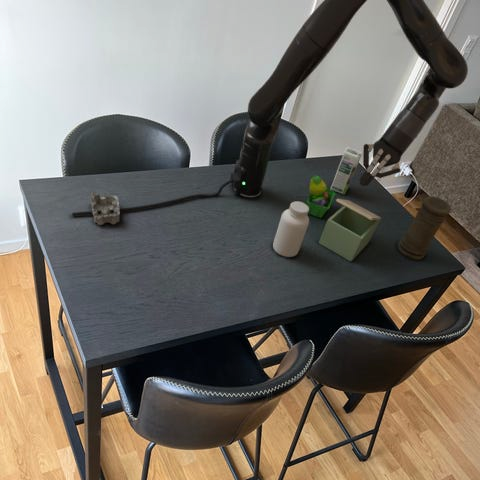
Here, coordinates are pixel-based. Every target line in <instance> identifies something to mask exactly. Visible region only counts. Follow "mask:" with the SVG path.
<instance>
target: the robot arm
mask: <svg viewBox="0 0 480 480" xmlns="http://www.w3.org/2000/svg"><path fill="white" fill-rule="evenodd" d="M367 1H368V0H323V1H322V2H321V3H320V4H319V5H318V6H317V8H315V10H313V12H312V13H311V14H310V15H309V16H308V18H307V19H306V20H305V21H304V23H303V24H302V26H301V27H300V29H299V30H298V32H296V34H295V36H294V37H293V39H292V40H291V41H290V43H289V45H288V47H287V48H286V50H285V52H284V53H283V55H282V57H281V58H280V60H279V62H278V64H277V65H276V67H275V69H274V70H273V72H272V73H271V75H270V76H269V78H268V79H267V80H266V81H265V82H264V84H262V86H261V87H259V88H258V89H257V90H256V92H254V93H253V95H252V96H251V97H250V99H249V102H248V105H247V115H248V118H249V120H248V123H247V124H246V128H245V130H244V133H243V139H242V144H241V148H240V154H239V157H238V159H236V161H235V166H234V170H233V172H230V176H229V177H230V178H229V180H228V181H225V182H224V183H223V184H221V186H220V187H219V188H218V190H217V191H216V192H215V193H212V194H203V193H198V194H192V195H187V196H183V197H180V198H175V199H171V200H170V199H169V200H167V201H162V202H161V201H160V202H157V203H151V204H146V205H140V206H139V205H138V206H132V207H123V208H119V209H120V213H123V212H128V211H129V212H130V211H139V210H145V209H150V208H151V209H152V208H155V207H160V206H166V205H170V204H175V203H179V202H183V201H186V200H190V199H195V198H214V197H217V196H219V195H220V194H221V193H222V190H223V189H224V188H225V187H227V186H228V185H229V184H231V188H232V191H233V192H234V193H235V195H236V196H237V197H242V198H245V199H257V198H258V197H260V196H261V193H262V190H263V184H264V181H265V177H266V172H267V169H268V165H269V161H270V157H271V153H272V149H273V146H274V142H275V139H276V137H277V135H278V132H279V127H280V124H281V121H282V117H283V113H284V109H285V105H286V103H287V101H288V100H289V99H290V97H291V96H292V95H293V93H294V92H295V91H296V90H297V89H298V88H299V86H300V85H302V84H303V83H304V82H305V81H306V80H307V79H308V78H309V77H310V75H312V73H313V72H314V71H315V70H316V69H317V68H318V67H319V65H321V63H322V62H323V61H324V60H325V58H326V57H327V56H328V54H329V53H330V52H331V51H332V49H333V48H334V46H335V45H336V44H337V42H338V41H339V40H340V38H341V37H342V35H343V34H344V32H345V31H346V29H347V28H348V26H349V25H350V23H351V21H352V20H353V18H354V17H355V15H356V14H357V13H358V12H359V10H360V9H361V8H362V7H363V6H364V5H365V3H366V2H367ZM386 2H387V3H388V5H389V6H390V8H391V10H392V13H393V14H394V16H395V18H396V20H397V22H398V24H399V27H400V28H401V30H402V32H403V34H404V36H405V38H406V40H407V41H408V42H409V44H410V46H411V47H412V49H413V51H415V53H416V54H417V56H418V57H419V58H420V59H421V60H423V61H424V62H426V64H427V65H428V66H429V68H428V70H427V72H426V74H425V75H424V77H423V79H422V81H421V82H420V84H419V86H418V89H417V90H416V92H415V93H414V94H413V96H412V97H411V98H410V100H409V101H408V102H407V104H406V105H405V106H404V107H403V109H402V110H400V112H399V113H398V114H397V115H396V117H395V118H394V119H393V120H392V122H391V123H390V124H389V126H388V127H387V129H386V130H385V132H384V133H383V134H382V135H381V137H380V138H379V139H378V140H376V141H375V142H374V143H370V144H368V143H364V145H363V151H362V152H363V153H362V157H363V158H362V166H363V167H364V169H365V172H364V173H363V174H362V175H361V177H360V178H359V185H360V186H362V187H367V186H369V185H370V183H371V182H372V181H373V179H375V178H378V179H382V178H385V177H389V176H392V175H395V174H399V173H401V171H402V169H401V168H400V162H401V158H402V156H403V155H404V153H405V152H406V151H407V150H408V148H409V147H410V146H411V144H412V143H413V142H414V140H415V139H417V137H418V136H419V134H421V131H422V130H424V129H423V128H424V127H425V125H426V124H427V123H428V122H429V120H430V119H431V118H432V116H433V115H434V114H435V113H436V111H437V109H438V108H439V106H440V98H441V97H442V95H443V94H444V92H445V91H446V89H451V90H452V89H456V88H459V87H460V86H461V85H462V84H463V83H464V82H465V80H466V79H467V76H468V73H469V65H468V62H467V61H466V59H465V57H464V56H463V54H462V53H461V52H460V51H459V49H458V48H457V47H456V46H455V44H454V43H453V42H451V40H450V39H449V38H448V37H447V35H446V34H445V31H444V29H443V28H442V26H441V25H440V23H439V22H438V20H437V18H436V17H435V15H434V14H433V12H432V11H431V9H430V8H429V6H428V5H427V3H426V2H425V0H386ZM370 153H372V160H371V162H370ZM391 166H392V167H391ZM387 167H391V170H387V171H384V172H381V171H382V170H383V169H384V168H387ZM113 212H114V209H111V210H110V213H113ZM98 214H102V210H99V211H98ZM71 215H72V216H73V217H77V216H89V215H93V212H92V210H89V211H88V210H87V211H77V212H72V213H71Z"/></svg>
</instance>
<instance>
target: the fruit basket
mask: <svg viewBox="0 0 480 480" xmlns="http://www.w3.org/2000/svg"><path fill="white" fill-rule="evenodd" d="M308 191H309V195H308V197H307V199H306V203H307V204H306V205H307V206H308V208H309V212H308V214H307V215H311V216H314V217H317V218H320V219H322V218H323V217H324V215H325V214H326V213H327V211H329V209H330V207H331V205H332V203H333V200H334V197H335V196H336V191H334V190H331V189H330V188H329V189H328V188H327V184H326V182H324V180H323V179H322V177H321V176H320V175H313V177H312V178H310V184H309V189H308Z"/></svg>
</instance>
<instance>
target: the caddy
mask: <svg viewBox="0 0 480 480" xmlns="http://www.w3.org/2000/svg"><path fill="white" fill-rule="evenodd" d="M380 221H381V219H380V220H370V219H368V218H366V217H365V216H363V215H361V214H359V213H357V212H355V211H353V210H352V209H350V208H348V207H346V206H344V205H342V207H340V209H338V210H337V211H336V212H335V213H334V214H333V215H331V216H330V217H328V219H327V221H326V224H325V226H324V228H323V231H322V233H321V236H320V239H319V241H318V244H320V245H321V246H323V247H324V248H327V249H328V250H330V251H332V252H333V253H335V254H337V255H338V256H340V257H342V258H344V259H345V260H347V261H349V262H352V261H353V260H354V259H355V258H356V257H357V256H358V255H359V254H360V253H361V252H362V250H363V249H364V248H365V247H366V246H367V245H368V244H369V243H370V241H371V239H372V237H373V235H374V234H375V231H376V229H377V227H378V225H379V224H380Z"/></svg>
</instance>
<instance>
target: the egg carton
mask: <svg viewBox="0 0 480 480" xmlns="http://www.w3.org/2000/svg"><path fill="white" fill-rule="evenodd" d="M90 195H91V201H90V203H91V211H92V212H93V214H92V216H93V222H94V223H95V224H98V225H99V226H101V225H102V226H103V225H104V224H105V223H109V224H111V225H116V224H117V223H120V214H121V212H120V209H121V208H120V203H119V197H118V196H116V195H111V194H110V195H107V194H105V195H104V196H100V194H99V193H94V192H91V193H90ZM111 209H114V212H113V213H110V210H111ZM99 210H102V214H98V211H99Z"/></svg>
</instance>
